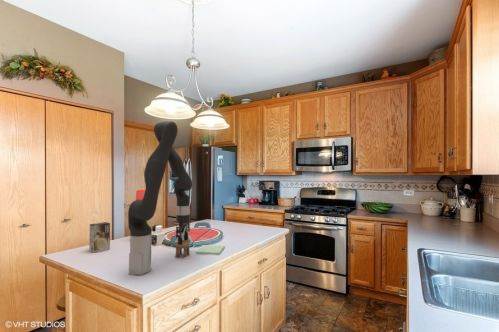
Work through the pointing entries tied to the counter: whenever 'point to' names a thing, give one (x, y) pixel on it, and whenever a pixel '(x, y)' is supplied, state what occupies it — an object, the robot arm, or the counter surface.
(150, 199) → the robot arm
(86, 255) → the counter surface
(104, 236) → the coffee box
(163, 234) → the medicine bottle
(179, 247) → the walnut stool
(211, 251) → the sage mat
